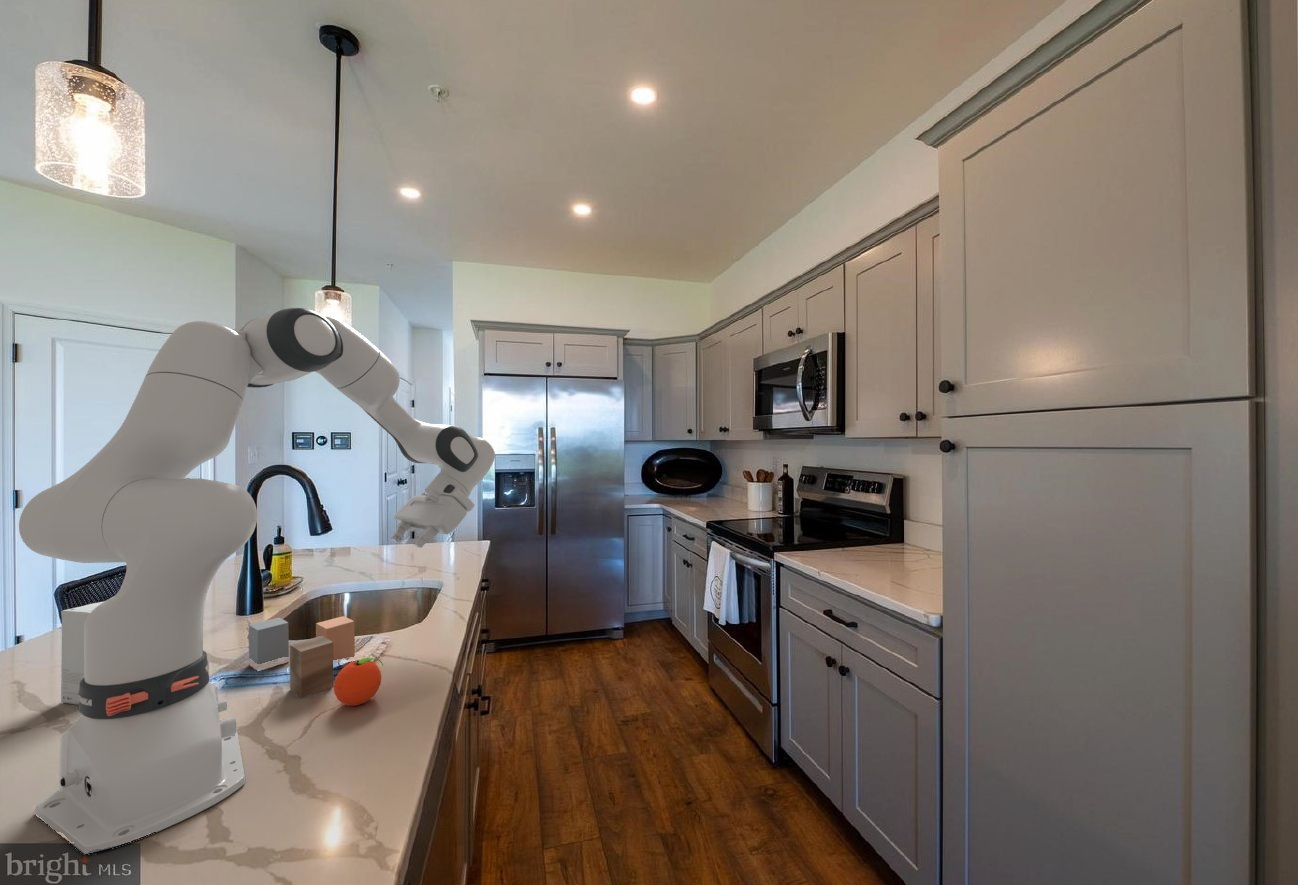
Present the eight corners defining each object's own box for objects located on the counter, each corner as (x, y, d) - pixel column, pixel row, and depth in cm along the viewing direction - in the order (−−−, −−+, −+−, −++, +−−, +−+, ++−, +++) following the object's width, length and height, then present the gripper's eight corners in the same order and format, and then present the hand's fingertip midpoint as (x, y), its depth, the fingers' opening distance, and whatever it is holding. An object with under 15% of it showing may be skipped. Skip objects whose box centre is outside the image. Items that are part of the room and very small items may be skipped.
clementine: (370, 686, 89) (370, 646, 89) (396, 694, 86) (396, 653, 86) (324, 708, 82) (324, 664, 82) (351, 718, 79) (350, 673, 79)
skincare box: (87, 707, 82) (86, 613, 82) (57, 703, 84) (56, 611, 83) (147, 683, 90) (146, 597, 90) (119, 679, 92) (118, 595, 92)
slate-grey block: (288, 662, 99) (288, 622, 99) (257, 672, 95) (257, 630, 95) (279, 656, 102) (279, 617, 102) (249, 665, 98) (248, 624, 98)
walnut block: (333, 686, 89) (333, 641, 89) (301, 698, 85) (301, 651, 85) (321, 678, 92) (321, 635, 92) (290, 689, 88) (289, 644, 88)
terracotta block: (354, 660, 99) (354, 621, 99) (326, 670, 95) (326, 628, 95) (343, 654, 102) (343, 615, 102) (316, 663, 98) (315, 623, 98)
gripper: (413, 484, 122) (372, 529, 114) (461, 488, 110) (419, 540, 102) (430, 500, 126) (391, 545, 118) (479, 506, 114) (440, 557, 106)
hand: (405, 543), depth 110 cm, fingers open, 8 cm apart
